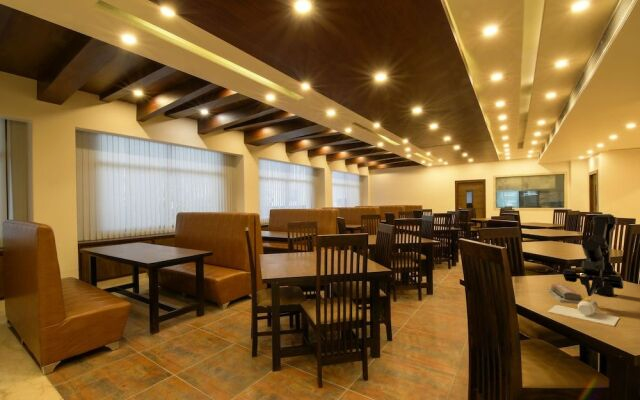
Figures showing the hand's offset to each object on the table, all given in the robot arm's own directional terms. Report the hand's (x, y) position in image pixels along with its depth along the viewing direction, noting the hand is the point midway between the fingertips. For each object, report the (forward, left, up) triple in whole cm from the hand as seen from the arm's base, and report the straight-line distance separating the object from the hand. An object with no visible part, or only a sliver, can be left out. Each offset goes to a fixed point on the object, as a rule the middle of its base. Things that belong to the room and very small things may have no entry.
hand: (589, 295), depth 126 cm
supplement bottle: (0, 0, -4) cm, 4 cm away
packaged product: (-9, -17, -7) cm, 21 cm away
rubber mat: (+7, +2, -7) cm, 10 cm away
